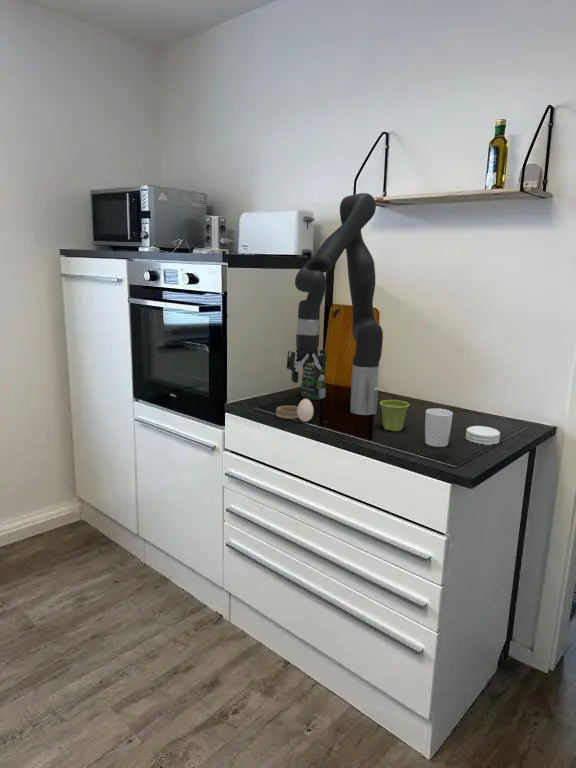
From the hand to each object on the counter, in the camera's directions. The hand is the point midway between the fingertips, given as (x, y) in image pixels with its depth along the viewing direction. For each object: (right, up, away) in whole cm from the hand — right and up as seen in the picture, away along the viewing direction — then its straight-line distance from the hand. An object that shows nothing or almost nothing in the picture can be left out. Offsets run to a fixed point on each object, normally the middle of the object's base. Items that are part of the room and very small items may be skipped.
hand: (305, 381), depth 187 cm
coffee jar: (+4, -7, +36) cm, 37 cm away
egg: (0, -14, +3) cm, 14 cm away
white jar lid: (+55, -19, -12) cm, 59 cm away
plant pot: (+28, -16, -2) cm, 33 cm away
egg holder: (-5, -12, +10) cm, 16 cm away
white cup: (+39, -19, -16) cm, 47 cm away
